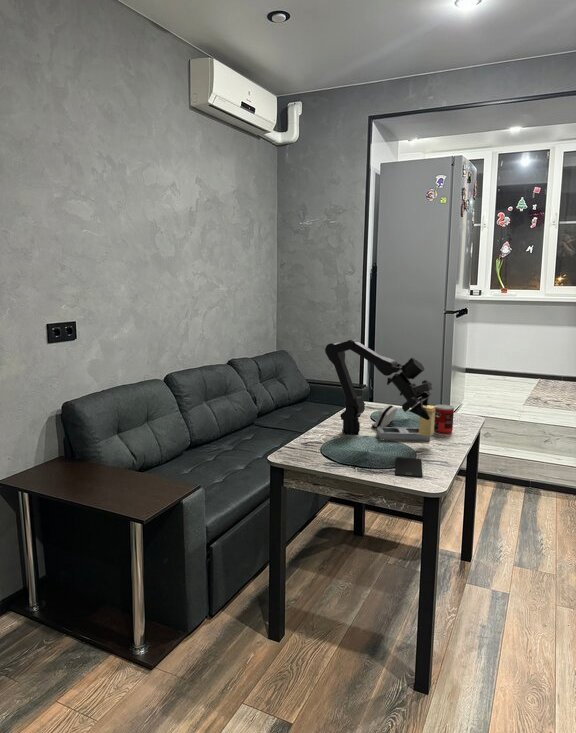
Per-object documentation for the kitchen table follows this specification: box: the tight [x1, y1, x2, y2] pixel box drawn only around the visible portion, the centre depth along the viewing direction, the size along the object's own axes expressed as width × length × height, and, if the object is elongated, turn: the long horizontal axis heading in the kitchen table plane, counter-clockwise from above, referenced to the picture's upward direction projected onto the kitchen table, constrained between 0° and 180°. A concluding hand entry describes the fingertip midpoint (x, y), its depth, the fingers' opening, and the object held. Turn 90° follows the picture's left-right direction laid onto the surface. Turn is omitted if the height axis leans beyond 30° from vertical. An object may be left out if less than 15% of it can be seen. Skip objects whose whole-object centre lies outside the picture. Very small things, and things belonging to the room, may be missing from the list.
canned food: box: [434, 404, 455, 435], centre depth 229 cm, size 8×8×11 cm
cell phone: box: [394, 456, 424, 478], centre depth 185 cm, size 9×18×1 cm, turn 168°
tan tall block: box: [418, 404, 436, 437], centre depth 208 cm, size 5×5×11 cm
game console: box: [370, 404, 398, 429], centre depth 239 cm, size 17×5×10 cm, turn 152°
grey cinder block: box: [376, 426, 431, 442], centre depth 220 cm, size 20×9×3 cm, turn 89°
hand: (430, 418), depth 207 cm, fingers closed on tan tall block, 4 cm apart
